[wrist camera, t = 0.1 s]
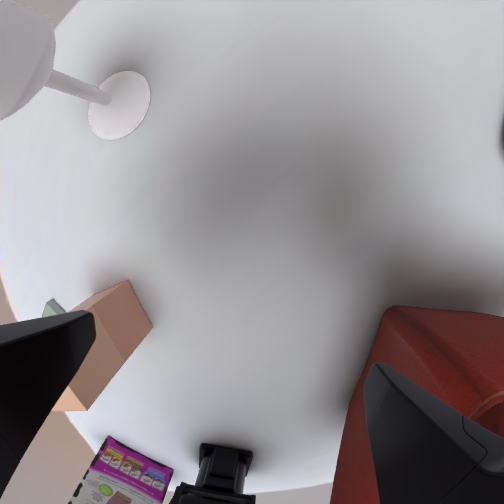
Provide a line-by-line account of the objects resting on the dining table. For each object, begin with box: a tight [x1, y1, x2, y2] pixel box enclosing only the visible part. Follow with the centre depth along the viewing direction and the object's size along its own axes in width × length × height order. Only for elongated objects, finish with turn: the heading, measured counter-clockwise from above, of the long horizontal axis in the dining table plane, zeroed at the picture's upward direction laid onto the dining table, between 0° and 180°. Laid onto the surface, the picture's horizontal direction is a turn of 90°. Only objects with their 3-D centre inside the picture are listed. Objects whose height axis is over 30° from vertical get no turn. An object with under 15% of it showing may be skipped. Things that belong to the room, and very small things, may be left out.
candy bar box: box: [68, 437, 174, 504], centre depth 23 cm, size 11×5×16 cm, turn 62°
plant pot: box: [330, 306, 504, 504], centre depth 15 cm, size 19×19×17 cm
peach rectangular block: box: [51, 280, 153, 411], centre depth 19 cm, size 5×5×12 cm
